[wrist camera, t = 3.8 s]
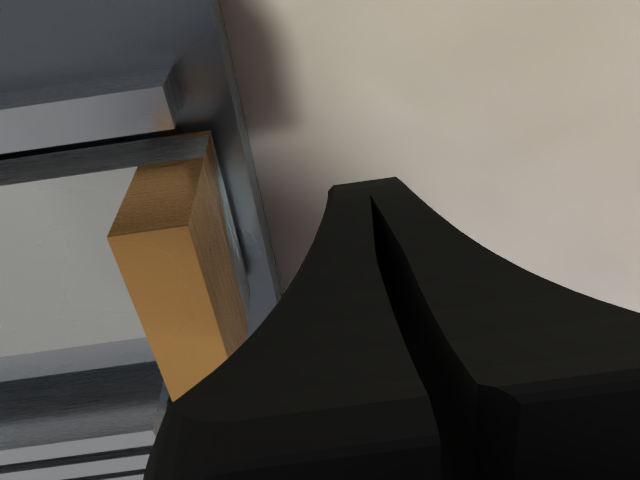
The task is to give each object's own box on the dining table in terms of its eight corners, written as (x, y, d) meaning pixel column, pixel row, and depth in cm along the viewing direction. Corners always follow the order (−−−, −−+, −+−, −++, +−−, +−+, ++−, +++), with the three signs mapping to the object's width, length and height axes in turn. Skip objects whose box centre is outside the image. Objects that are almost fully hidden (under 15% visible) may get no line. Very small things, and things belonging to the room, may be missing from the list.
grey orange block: (210, 129, 11) (187, 225, 8) (250, 288, 14) (242, 407, 11) (-189, 187, 12) (-345, 300, 9) (-85, 334, 14) (-181, 464, 11)
